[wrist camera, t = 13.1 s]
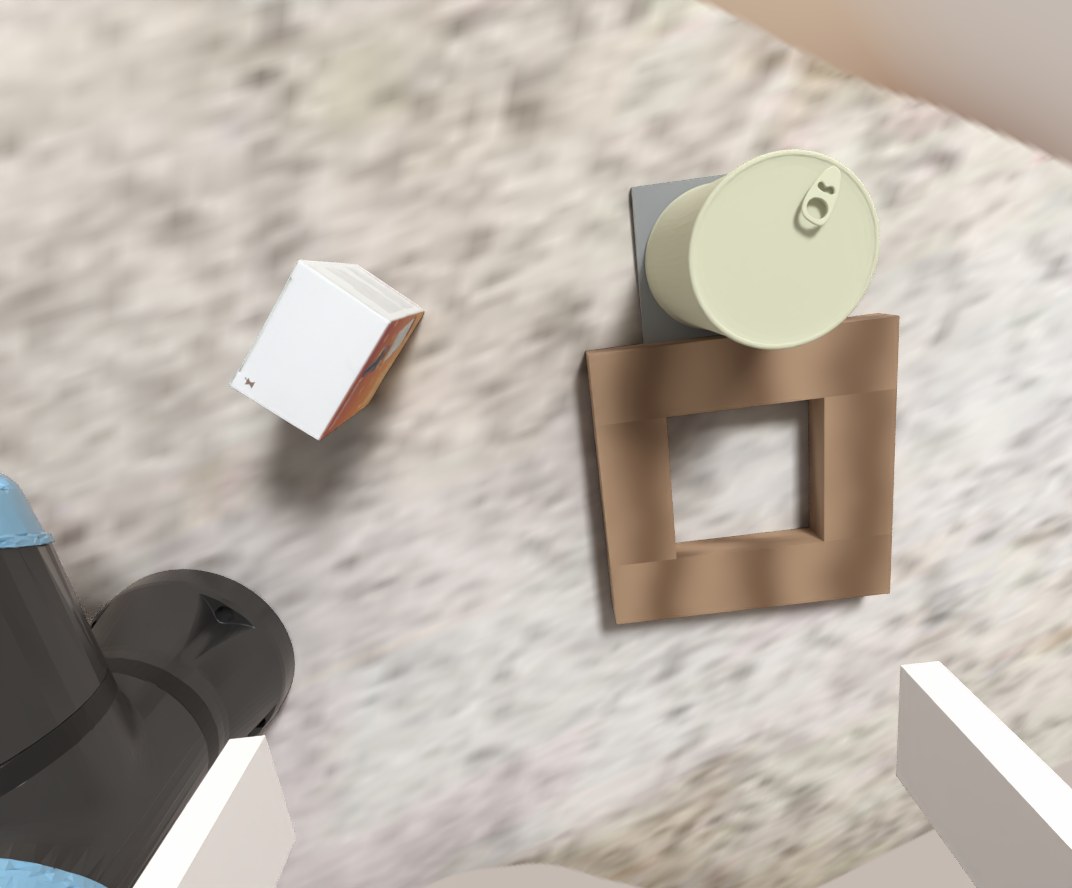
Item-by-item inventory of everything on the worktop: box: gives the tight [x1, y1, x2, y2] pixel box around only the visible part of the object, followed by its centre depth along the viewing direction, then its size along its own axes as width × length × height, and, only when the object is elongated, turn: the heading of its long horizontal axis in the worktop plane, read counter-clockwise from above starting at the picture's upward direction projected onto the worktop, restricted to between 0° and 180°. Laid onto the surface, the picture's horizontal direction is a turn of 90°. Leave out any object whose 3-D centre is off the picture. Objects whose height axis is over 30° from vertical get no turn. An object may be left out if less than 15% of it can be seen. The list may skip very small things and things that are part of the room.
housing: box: [585, 313, 899, 624], centre depth 43 cm, size 20×20×2 cm
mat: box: [631, 174, 727, 344], centre depth 40 cm, size 10×10×1 cm
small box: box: [229, 260, 424, 441], centre depth 37 cm, size 8×6×10 cm
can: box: [645, 149, 880, 350], centre depth 34 cm, size 9×9×12 cm
